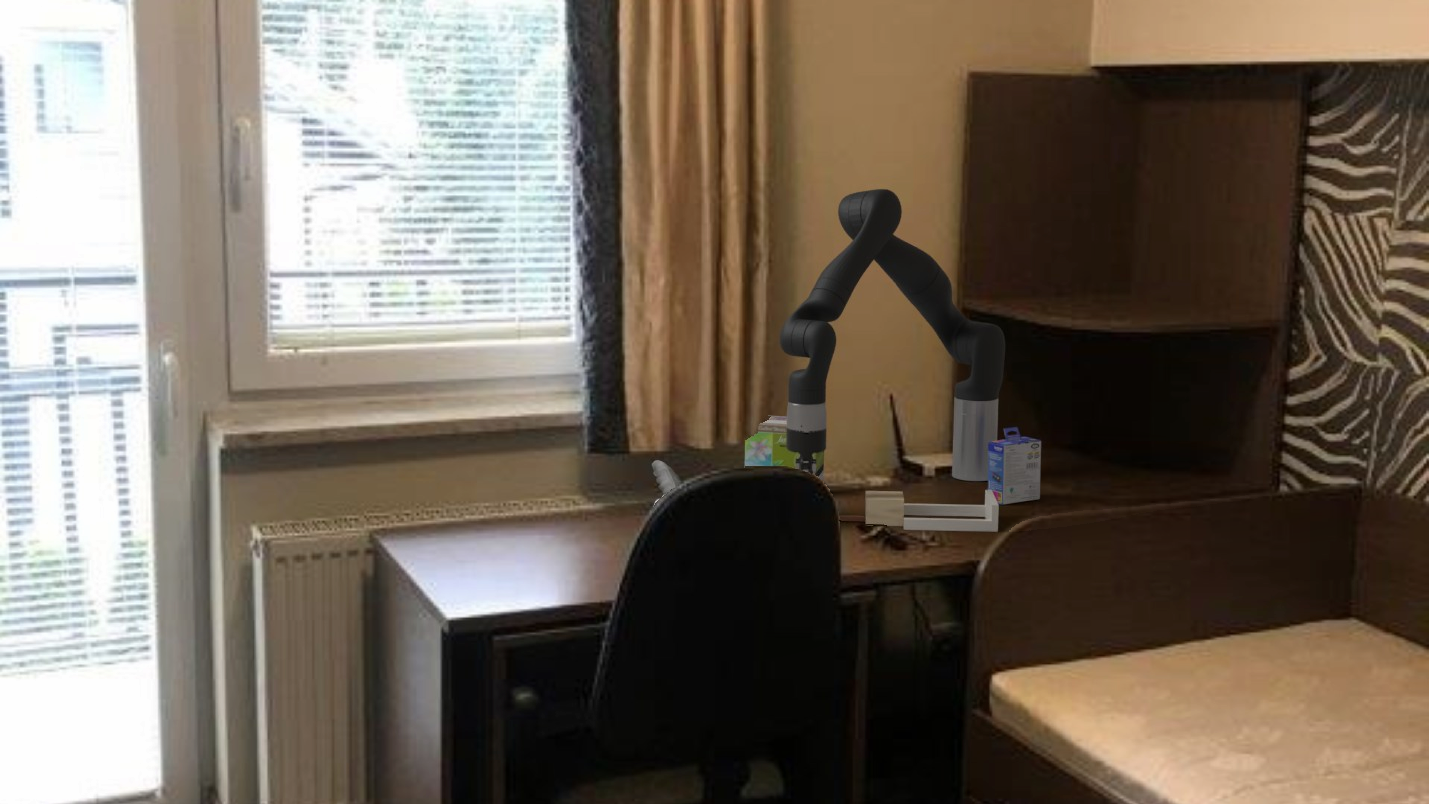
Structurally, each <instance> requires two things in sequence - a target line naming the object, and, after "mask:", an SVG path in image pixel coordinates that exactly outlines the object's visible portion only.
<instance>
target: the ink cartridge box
mask: <svg viewBox="0 0 1429 804" xmlns="http://www.w3.org/2000/svg"><path fill="white" fill-rule="evenodd" d="M1002 430H1003V433H1004V438H1005V439H999V440H998V439H997V441H990V442H988V481H987V490H992V492H993V494H994V496H995V498H996V501H997V503H998V505H1011V504H1015V503H1023V502H1029V501H1035V500H1040V498H1041V465H1042V464H1041V461H1042V460H1041V459H1042V457H1041V456H1042V455H1041V454H1042V440H1041V439H1037V438H1034V437H1031V436H1030V437H1028V436H1021V433H1020V431H1019V428H1018V427H1017V426H1014V427H1005V428H1003V429H1002ZM1009 432H1015V433H1016V434H1008V433H1009Z"/></svg>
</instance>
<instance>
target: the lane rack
mask: <svg viewBox="0 0 1429 804" xmlns="http://www.w3.org/2000/svg"><path fill="white" fill-rule="evenodd" d="M984 491H985V492H984V504H957V503H955V504H954V503H953V504H949V503H947V504H945V503H944V504H943V503H906V502H904V516H928V517H904V526H903V530H905V531H906V530H907V531H944V532H945V531H946V532H947V531H950V532H952V531H953V532H988V533H989V532H993V533H994V532H998V531H999V505H1000V504H999V503H997V501H996V498H995V496H994V494H993V492H992V490H988V489H985V490H984ZM929 516H936V517H934V518H933V517H931V518H929ZM938 517H939V518H938ZM940 517H945V518H940ZM946 517H980V518H946ZM982 517H983V519H982Z"/></svg>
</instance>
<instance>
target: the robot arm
mask: <svg viewBox="0 0 1429 804" xmlns="http://www.w3.org/2000/svg"><path fill="white" fill-rule="evenodd" d="M837 208H838V210H837V212H838V213H837V216H838V219H839V223H840V225H841V227H842V229H843V231H844V232H845V234H847V236H848V237H849V238H850V239H851V240H852V241H851V242H850V243H849V244H848V245H847V246H846V247H845V249H843V250H842V251H841V252H840V253H839V254H837V256H836V257H834V258H833V259H832V260H831V261H830V262H829V263H828V265H827V266H825V268H824V269H823V270H822V271H821V273H820V275H819V277H818V278H817V280H816V281H815V283H814V285H813V288H812V290H811V291H810V293H809V296H808V297H807V298H806V299H805V300H804V301H803V302H802V303H801V304H800V305H799V306H798V307H797V308H796V309H795V310H794V311H793V312H792V313H791V315H789V316H788V318H787V319H786V321H785V322H784V324H783V325H782V327H781V330H780V333H779V344H780V348H781V350H782V351H783V352H784V353H785V354H786V355H788V356H792V357H797V358H807V359H809V362H808V364H807V366H806V368H800V369H797V370H796V369H795V370H793V371H791V373H790V374H789V377H788V387H787V388H788V389H787V390H788V394H787V395H788V397H787V398H788V400H787V401H788V402H787V409H786V417H787V432H786V448H787V450H789V451H791V452H794V453H796V452H797V453H799V454H800V457H799V459H796V462H795V469H801V470H803V471H805V472H810V473H811V474H813V475H815V471H816V459H813V457H812V454H813V453H820V452H823V451H824V452H825V451H826V449H827V425H828V424H827V423H828V421H827V420H828V417H827V416H828V415H827V414H828V413H827V407H826V406H827V404H826V403H827V400H826V399H827V398H826V397H827V394H826V393H827V391H826V389H827V379H828V374H829V371H830V368H831V364H832V360H833V356H834V354H835V351H836V348H837V347H836V346H837V334H836V331H835V328H834V327H833V326H832V325H831V324H830V323H832V322H835V321H837V320H838V319H839V318H840V317H841V315H842V314H843V312H844V310H845V309H846V306H847V304H848V303H849V300H850V298H851V297H852V294H853V292H854V290H855V288H856V286H857V285H858V283H859V282H860V280H861V279H862V277H863V275H864V273H866V271H867V270H868V268H869V267H870V265H871V264H872V263H873V262H875V263H877V264H878V266H879V267H880V268H881V269H882V270H883V272H884V273H885V274H886V275H887V276H888V277H889V279H891V281H893V283H894V284H895V285H896V287H897V288H898V289H899V290H900V292H901V293H902V294H903V295H904V297H905V299H907V300H908V301H909V302H910V304H911V305H912V306H913V307H914V308H915V309H916V310H917V311H918V312H919V314H920V315H921V316H922V317H923V319H924V320H925V321H926V322H927V323H928V324H929V326H930V327H931V328H932V329H933V330H932V331H934V332H935V334H936V336H937V337H938V339H939V340H940V342H941V344H942V345H943V346H944V348H945V349H946V351H947V353H948V354H949V355H950V357H952V359H954V360H955V361H956V362H958V363H960V364H964V365H968V366H971V372H970V377H968V378H967V379H966V380H963V381H962V380H961V381H959V382H957V383H956V384H955V386H954V399H953V400H954V402H953V403H954V404H953V436H952V439H953V440H952V466H951V467H952V469H951V477H953V478H954V479H957V480H961V481H967V482H985V481H986V482H988V442H990V441H997V440H998V425H999V423H998V421H999V393H1000V390H1001V388H1002V387H1001V386H1002V384H1003V379H1004V370H1005V369H1004V367H1005V356H1006V339H1005V335H1004V332H1003V330H1002V329H1001V327H1000V326H999V325H997V324H993V323H988V322H983V321H982V322H981V321H976V320H975V321H972V320H970V319H969V318H968V317H966V316H964V314H962V312H961V311H960V309H959V308H957V306H956V305H955V304H954V302H953V287H952V283H951V280H950V278H949V276H948V274H947V273H946V272H945V271H944V269H943V268H942V267H941V266H940V265H939V263H938V262H937V261H936V260H935V259H934V257H932V256H931V254H928V253H927V252H925V251H924V250H922V249H921V248H919V247H917V246H915V245H913V244H911V243H910V242H907V241H905V240H903V239H902V238H899V237H898V236H897V235H895V232H896V230H897V229H898V227H899V226H900V222H901V219H902V213H903V211H902V204H901V201H900V199H899V197H898V196H897V194H896V193H895V192H894V191H892V190H890V189H886V188H877V189H876V188H875V189H870V190H864V191H857V192H853V193H849V194H847V195H846V196H844V197H843V198H842V199H841V200H840V202H839V204H838V207H837Z"/></svg>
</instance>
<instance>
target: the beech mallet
mask: <svg viewBox="0 0 1429 804" xmlns="http://www.w3.org/2000/svg"><path fill="white" fill-rule="evenodd" d="M864 500H865V503H864V504H865V505H864V506H865V507H864V508H865V509H864V515H839V516H840V519H841V521H840V522H865V525H866V524H884V525H887V527H904V518H905V515H904V503H905V497H904V493H903V491H898V490H897V491H892V490H891V491H890V490H889V491H887V490H886V491H884V490H882V491H881V490H865V499H864Z"/></svg>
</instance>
